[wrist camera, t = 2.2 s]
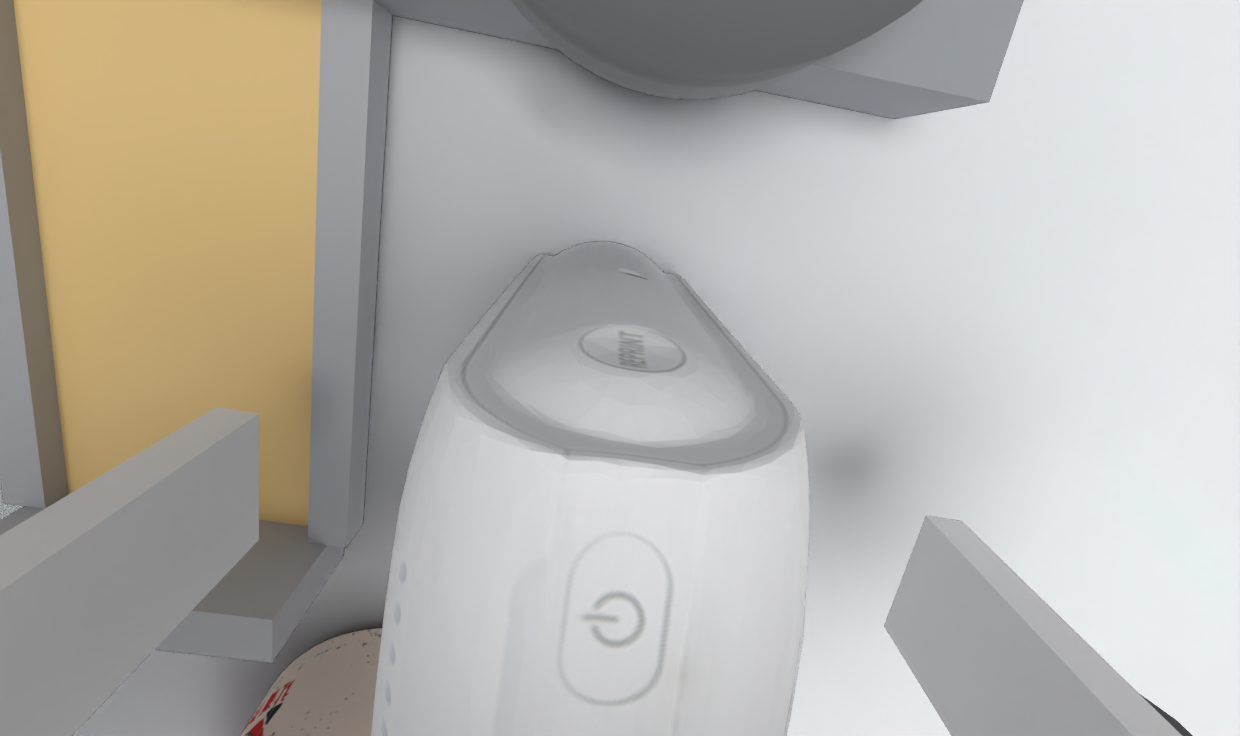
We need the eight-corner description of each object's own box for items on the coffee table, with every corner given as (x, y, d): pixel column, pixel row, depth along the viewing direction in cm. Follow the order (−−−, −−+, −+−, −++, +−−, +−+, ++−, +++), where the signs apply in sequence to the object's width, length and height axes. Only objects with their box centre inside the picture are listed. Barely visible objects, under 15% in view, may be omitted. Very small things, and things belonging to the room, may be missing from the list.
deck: (-97, 499, 16) (-529, 702, 10) (-325, -605, 10) (-1862, -1899, 4) (749, 607, 18) (828, 831, 12) (1003, -247, 12) (1438, -698, 6)
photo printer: (525, 222, 15) (237, 422, 3) (696, 248, 15) (1046, 518, 3) (489, 573, 18) (279, 1350, 6) (632, 588, 18) (694, 1352, 6)
